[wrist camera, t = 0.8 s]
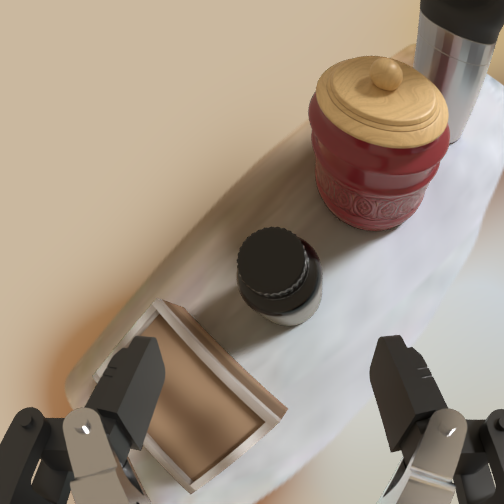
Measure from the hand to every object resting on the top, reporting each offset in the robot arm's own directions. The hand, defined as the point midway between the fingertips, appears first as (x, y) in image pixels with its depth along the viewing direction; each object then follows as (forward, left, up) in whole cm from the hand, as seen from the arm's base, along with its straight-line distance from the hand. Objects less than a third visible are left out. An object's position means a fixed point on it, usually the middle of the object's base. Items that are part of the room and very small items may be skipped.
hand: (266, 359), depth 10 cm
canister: (-20, -6, -20) cm, 29 cm away
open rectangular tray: (+11, -5, -20) cm, 24 cm away
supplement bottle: (-4, -5, -20) cm, 21 cm away
